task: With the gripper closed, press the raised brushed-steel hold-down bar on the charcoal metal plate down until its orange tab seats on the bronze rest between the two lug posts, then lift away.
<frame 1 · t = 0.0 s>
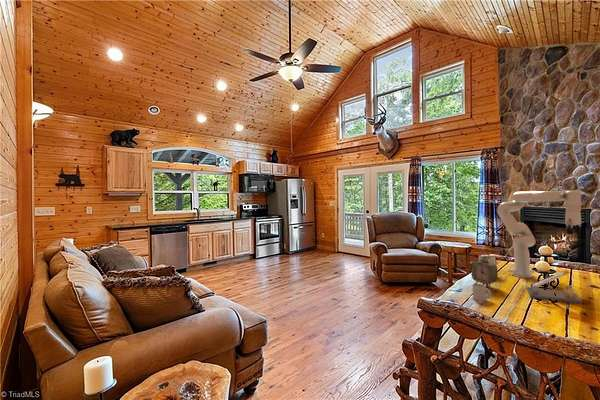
hand: (573, 233, 195), 37 cm above the table, tool pointing down, fingers open, 9 cm apart
tabletop clock: (485, 286, 206), on the table
hold down bar: (550, 279, 182), point 11 cm above the table, hinge at 35.0°
candy bar box: (487, 275, 231), on the table
clamp plate: (552, 296, 182), on the table
cup: (482, 300, 182), on the table
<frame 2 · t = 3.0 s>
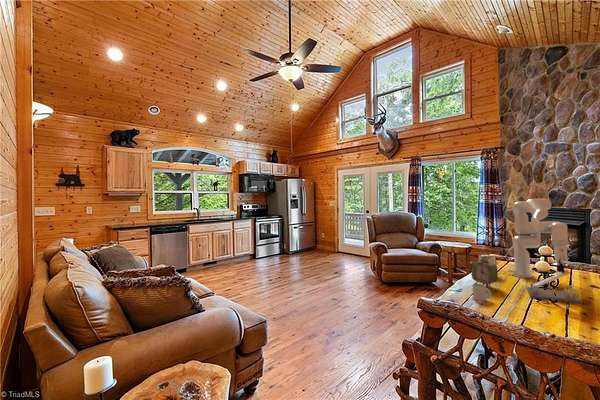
hand: (560, 271, 179), 17 cm above the table, tool pointing down, fingers closed
hold down bar: (550, 279, 182), point 11 cm above the table, hinge at 34.2°, touching gripper
everything else where it was.
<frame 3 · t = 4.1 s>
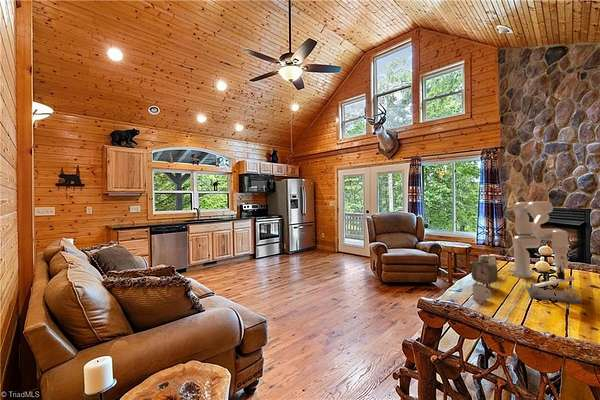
hand: (561, 278, 179), 12 cm above the table, tool pointing down, fingers closed
hold down bar: (552, 282, 182), point 9 cm above the table, hinge at 21.7°, touching gripper
everything else where it was.
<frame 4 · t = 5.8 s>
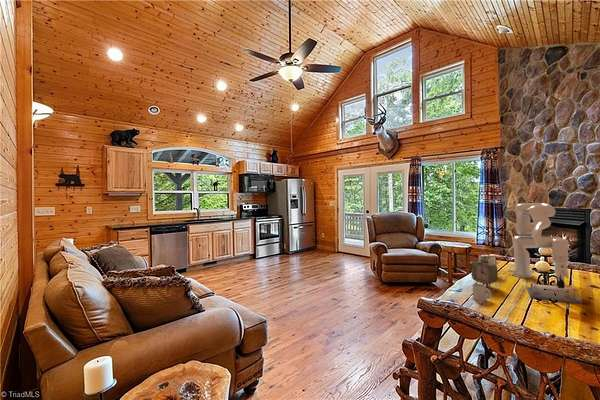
hand: (560, 287, 180), 7 cm above the table, tool pointing down, fingers closed
hold down bar: (554, 287, 182), point 6 cm above the table, hinge at 1.8°, touching gripper
everything else where it was.
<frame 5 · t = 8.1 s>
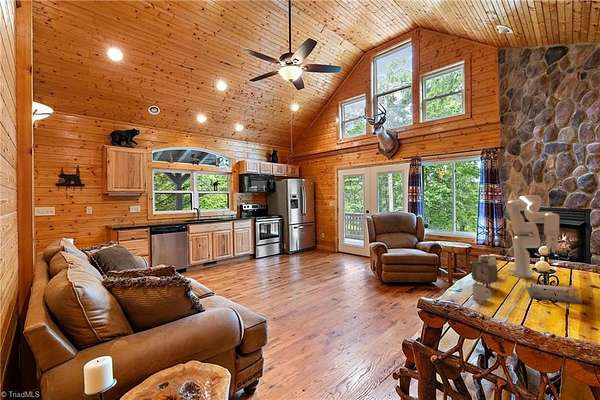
hand: (551, 259, 190), 22 cm above the table, tool pointing down, fingers closed
hold down bar: (554, 287, 182), point 6 cm above the table, hinge at 1.6°
everything else where it was.
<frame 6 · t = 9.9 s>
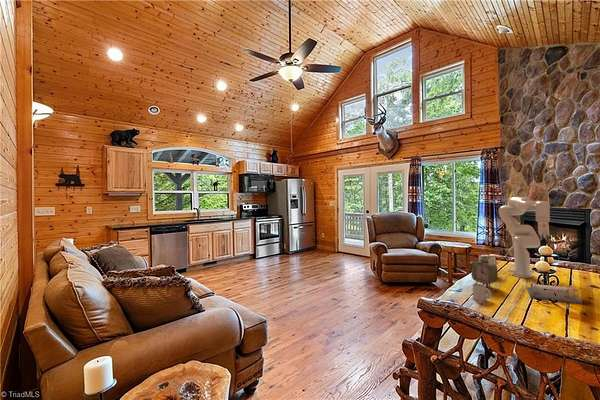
hand: (543, 245, 200), 29 cm above the table, tool pointing down, fingers closed
nothing on the table moved.
at the end: hold down bar at +2° (first picture: +35°); tabletop clock moved 0.2 cm from its start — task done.
